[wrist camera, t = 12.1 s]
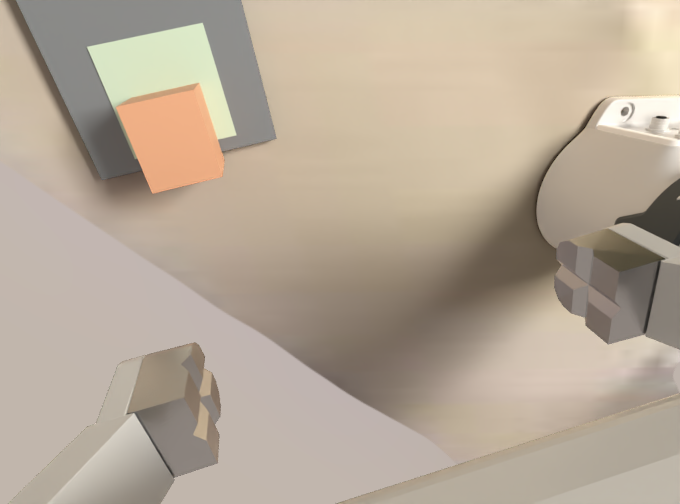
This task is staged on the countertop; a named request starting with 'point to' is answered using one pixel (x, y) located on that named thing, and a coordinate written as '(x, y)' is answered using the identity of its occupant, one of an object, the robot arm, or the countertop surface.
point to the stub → (173, 137)
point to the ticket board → (149, 67)
